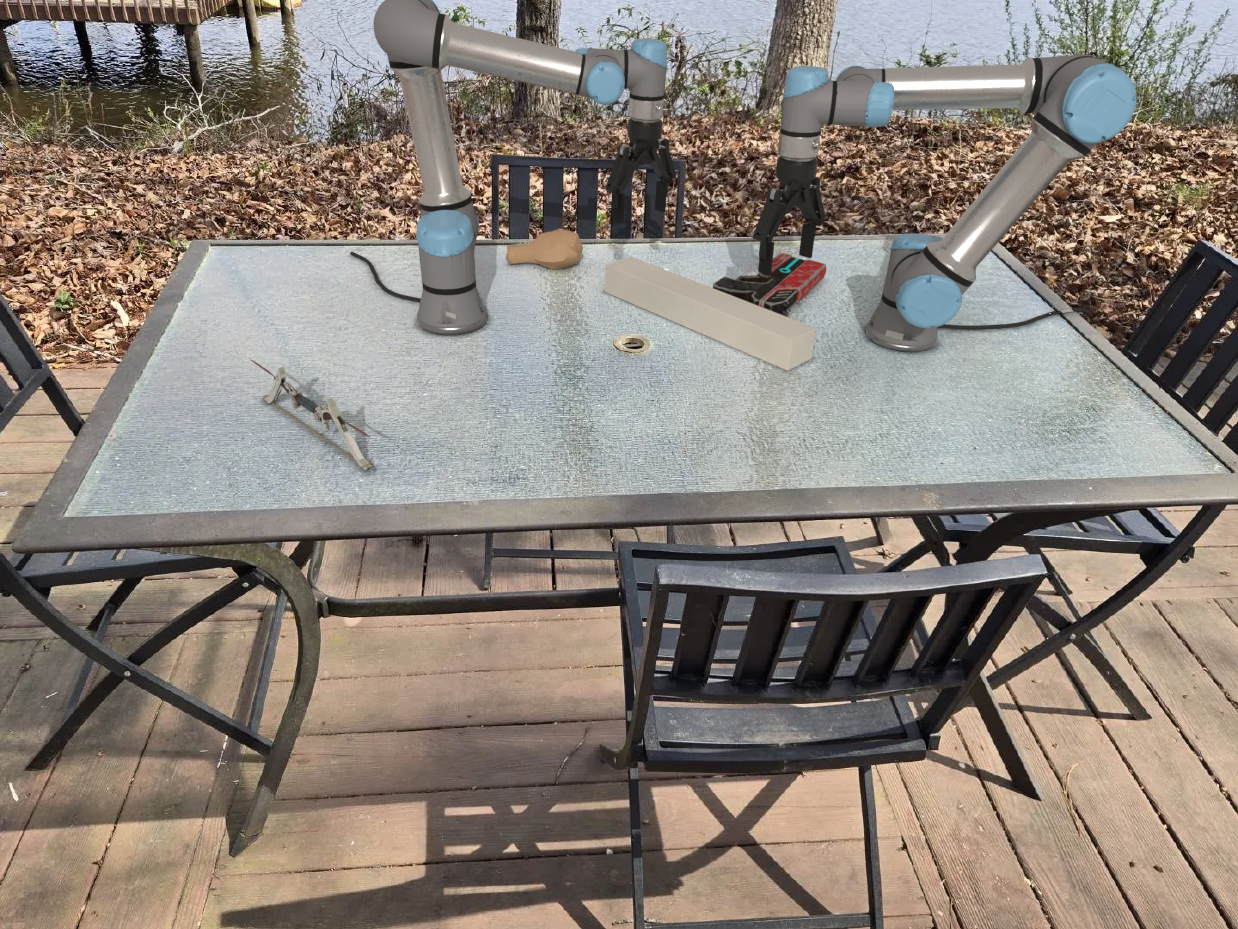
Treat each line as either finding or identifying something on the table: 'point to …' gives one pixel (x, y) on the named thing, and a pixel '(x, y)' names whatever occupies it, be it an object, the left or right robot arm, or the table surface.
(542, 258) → the squash
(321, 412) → the bow
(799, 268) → the gun
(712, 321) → the wide beam
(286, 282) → the table surface
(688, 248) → the table surface
